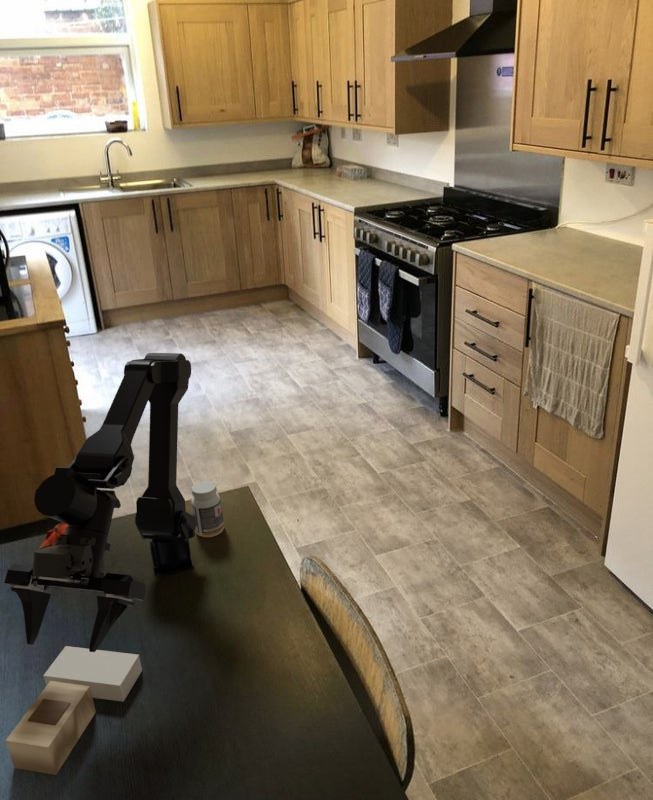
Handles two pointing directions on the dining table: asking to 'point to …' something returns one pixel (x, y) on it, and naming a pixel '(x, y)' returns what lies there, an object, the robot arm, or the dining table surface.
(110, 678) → the grey plinth
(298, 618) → the dining table surface
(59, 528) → the dragon fruit
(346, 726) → the dining table surface
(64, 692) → the birch block
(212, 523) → the pill bottle
